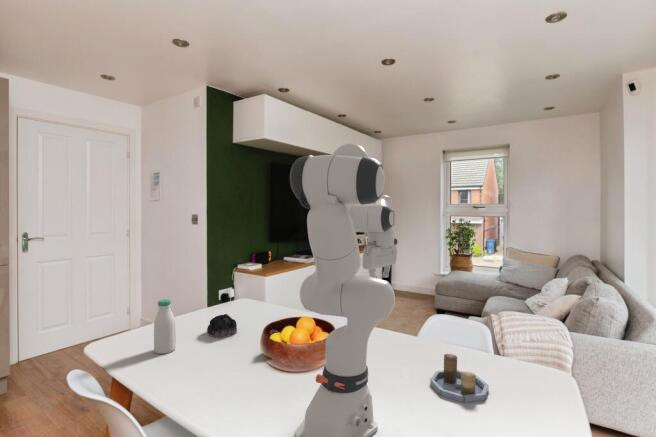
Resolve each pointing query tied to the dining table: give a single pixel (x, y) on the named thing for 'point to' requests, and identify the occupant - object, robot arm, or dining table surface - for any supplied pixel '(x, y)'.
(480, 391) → the ring tray
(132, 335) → the dining table surface
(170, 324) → the milk bottle
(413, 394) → the dining table surface
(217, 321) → the black rock
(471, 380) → the oak bead
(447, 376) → the walnut bead
